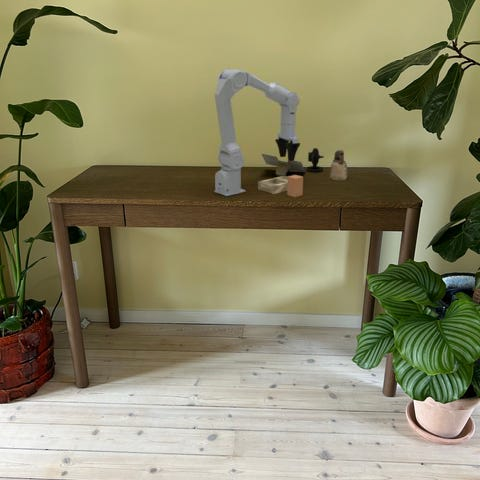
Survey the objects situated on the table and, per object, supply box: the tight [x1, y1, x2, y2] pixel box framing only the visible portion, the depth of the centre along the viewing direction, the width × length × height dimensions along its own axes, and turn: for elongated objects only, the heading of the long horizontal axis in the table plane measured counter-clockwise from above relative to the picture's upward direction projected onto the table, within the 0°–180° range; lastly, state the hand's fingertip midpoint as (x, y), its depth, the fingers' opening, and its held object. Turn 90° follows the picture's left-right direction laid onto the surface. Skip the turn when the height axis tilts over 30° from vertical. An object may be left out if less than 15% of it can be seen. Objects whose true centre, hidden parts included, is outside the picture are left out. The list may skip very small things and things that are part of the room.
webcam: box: [305, 147, 325, 173], centre depth 214 cm, size 8×8×10 cm
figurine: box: [329, 149, 348, 182], centre depth 200 cm, size 7×7×12 cm
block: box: [286, 174, 304, 198], centre depth 179 cm, size 4×4×7 cm
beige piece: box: [257, 175, 288, 195], centre depth 189 cm, size 14×9×3 cm, turn 130°
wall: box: [261, 153, 306, 177], centre depth 206 cm, size 19×10×17 cm
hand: (286, 158), depth 193 cm, fingers open, 7 cm apart
